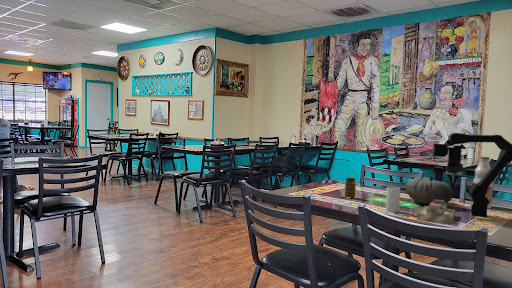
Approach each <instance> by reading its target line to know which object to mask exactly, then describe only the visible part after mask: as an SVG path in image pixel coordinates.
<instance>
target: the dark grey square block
mask: <svg viewBox="0 0 512 288" xmlns="http://www.w3.org/2000/svg"><path fill="white" fill-rule="evenodd" d="M444 201H445V200H437V199H435V200H434V201H433V203H435V204H441V205H444Z"/></svg>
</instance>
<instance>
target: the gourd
mask: <svg viewBox="0 0 512 288" xmlns="http://www.w3.org/2000/svg"><path fill="white" fill-rule="evenodd" d="M450 185H451V184H450V183H448V182H444V181H439V180H435V179H434V178H433V175H432V174H430V175H429V177H415V178H412V179H409V180H408V181H406V183H405V191H406V193H407V195H408V196H409V197H410V199H411V200H412V201H414V202H415V203H416V204H420V205H429V206H430V203H432V202H433V201H434V200H435V199H437V200H445V201H444V203H447V204H448V203H449V202H450V201H451V200H452V199H453V197H454V190H453V189H454V188H452V186H450Z"/></svg>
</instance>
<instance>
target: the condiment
mask: <svg viewBox="0 0 512 288" xmlns="http://www.w3.org/2000/svg"><path fill="white" fill-rule="evenodd" d="M356 188H357V187H356V178H354V177H346V180H345V186H344V196H346V197H351V198H354V197H356Z"/></svg>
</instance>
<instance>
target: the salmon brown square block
mask: <svg viewBox="0 0 512 288" xmlns="http://www.w3.org/2000/svg"><path fill="white" fill-rule="evenodd" d="M429 208H434V209H441V204H435V203H431V204H430V205H429Z"/></svg>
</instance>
